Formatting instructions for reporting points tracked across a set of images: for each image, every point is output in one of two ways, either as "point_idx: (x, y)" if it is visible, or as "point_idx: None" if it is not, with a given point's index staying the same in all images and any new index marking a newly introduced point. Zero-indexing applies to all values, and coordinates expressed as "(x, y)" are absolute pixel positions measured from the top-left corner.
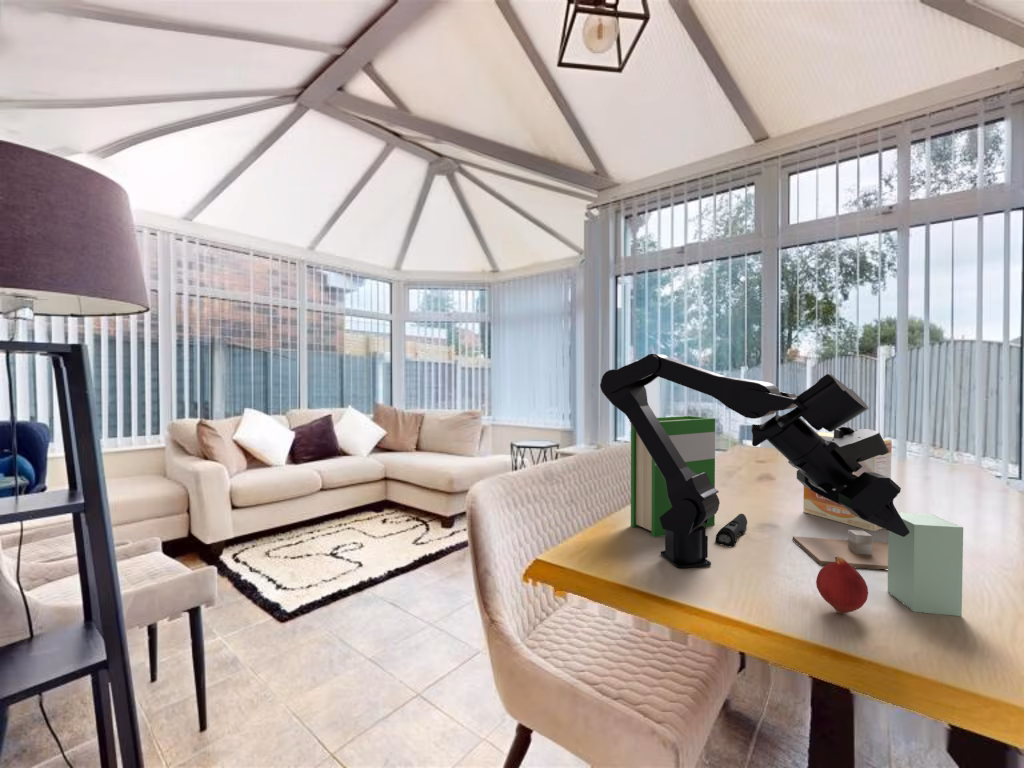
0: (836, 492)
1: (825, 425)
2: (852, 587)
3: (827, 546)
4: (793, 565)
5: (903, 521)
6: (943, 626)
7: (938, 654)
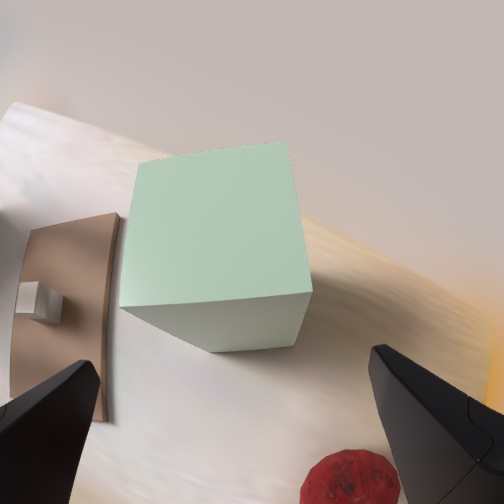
0: (36, 499)
1: None
2: (400, 487)
3: (37, 359)
4: (123, 476)
5: (228, 302)
6: (338, 318)
7: (434, 366)
